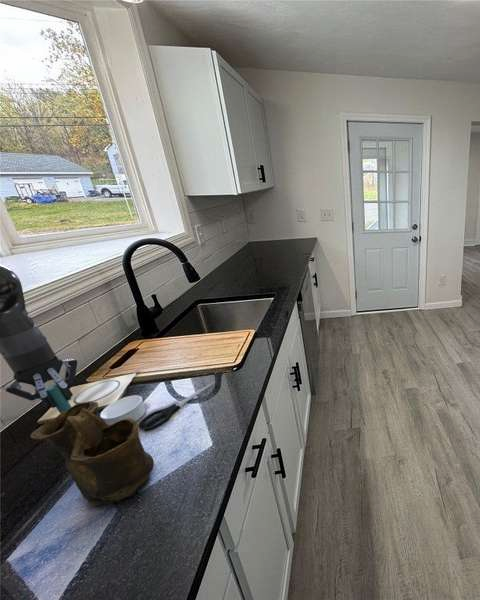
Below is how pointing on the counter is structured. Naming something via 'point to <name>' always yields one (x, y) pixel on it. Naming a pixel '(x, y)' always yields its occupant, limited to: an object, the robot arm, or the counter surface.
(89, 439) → the pottery vessel
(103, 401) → the board
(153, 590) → the counter surface
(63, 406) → the marker
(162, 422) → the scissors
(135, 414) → the ramekin
